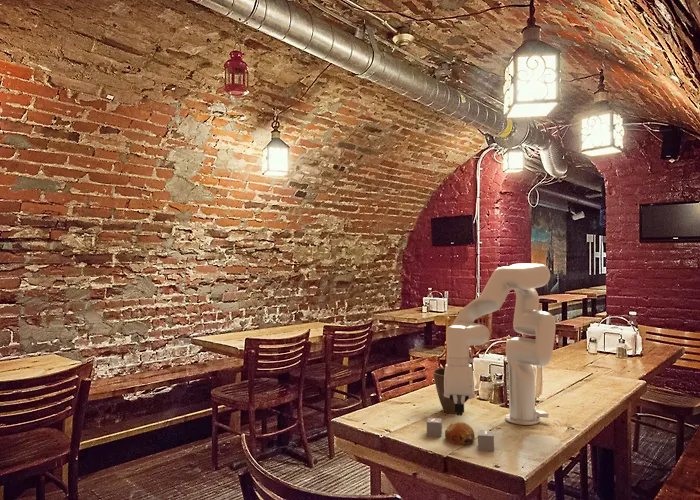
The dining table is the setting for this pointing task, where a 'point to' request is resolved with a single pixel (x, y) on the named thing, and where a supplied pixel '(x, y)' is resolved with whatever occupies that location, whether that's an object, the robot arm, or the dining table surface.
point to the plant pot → (445, 402)
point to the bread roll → (459, 433)
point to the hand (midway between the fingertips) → (459, 414)
